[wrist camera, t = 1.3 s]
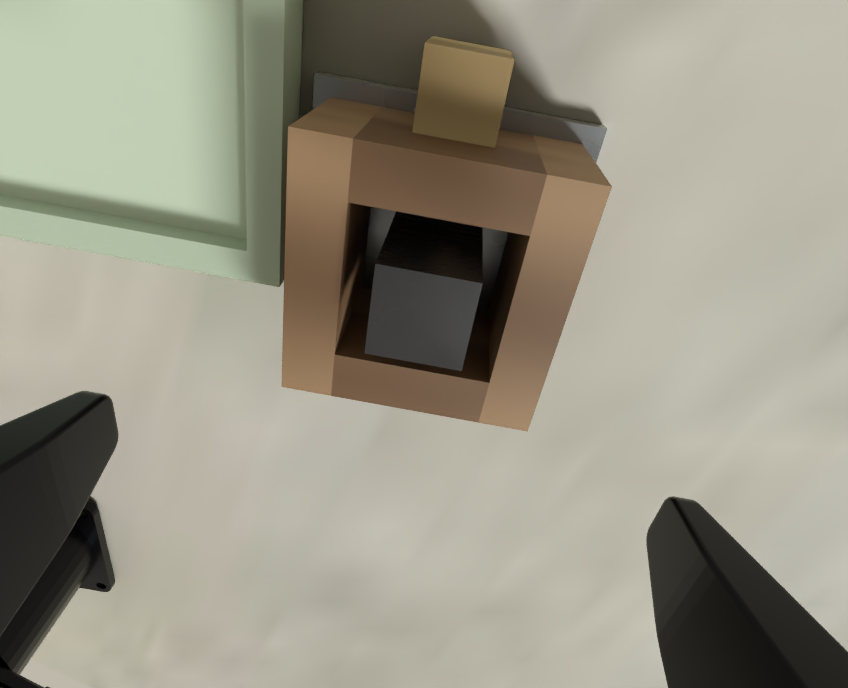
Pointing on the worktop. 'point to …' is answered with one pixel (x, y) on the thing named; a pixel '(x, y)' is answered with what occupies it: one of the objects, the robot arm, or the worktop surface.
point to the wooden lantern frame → (441, 199)
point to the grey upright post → (434, 246)
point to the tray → (151, 129)
